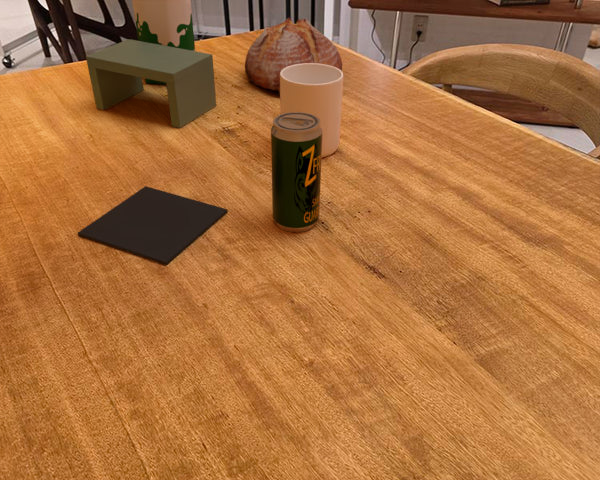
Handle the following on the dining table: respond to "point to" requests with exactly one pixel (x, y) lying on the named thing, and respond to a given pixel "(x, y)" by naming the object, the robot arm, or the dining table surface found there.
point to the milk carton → (164, 24)
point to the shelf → (154, 77)
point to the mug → (315, 98)
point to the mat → (154, 224)
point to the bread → (287, 52)
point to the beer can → (296, 170)
